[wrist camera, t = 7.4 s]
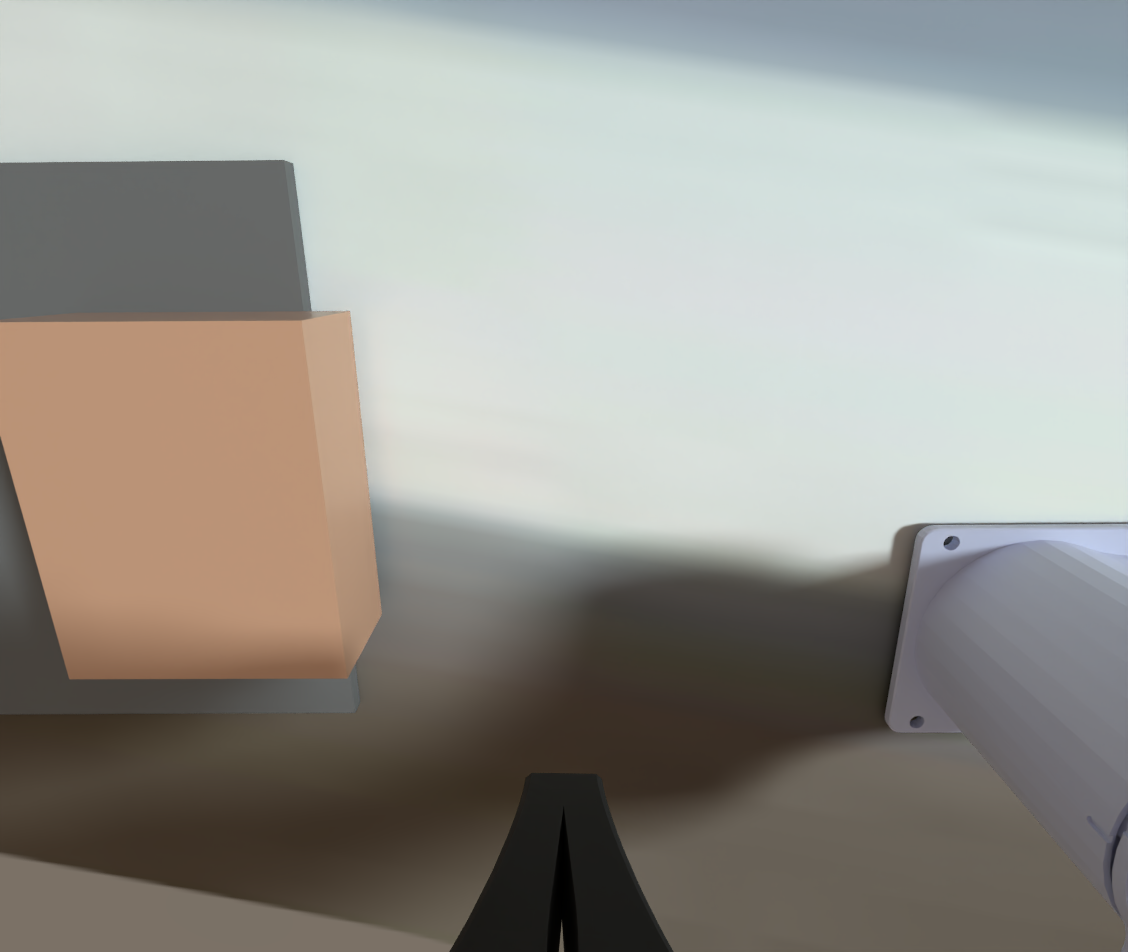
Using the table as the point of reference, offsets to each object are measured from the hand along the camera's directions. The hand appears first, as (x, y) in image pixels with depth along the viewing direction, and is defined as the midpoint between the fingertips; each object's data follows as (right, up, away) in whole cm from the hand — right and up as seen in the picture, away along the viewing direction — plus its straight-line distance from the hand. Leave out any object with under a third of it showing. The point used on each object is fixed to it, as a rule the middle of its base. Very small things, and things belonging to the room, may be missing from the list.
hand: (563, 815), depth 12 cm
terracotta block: (-6, +6, +6) cm, 11 cm away
